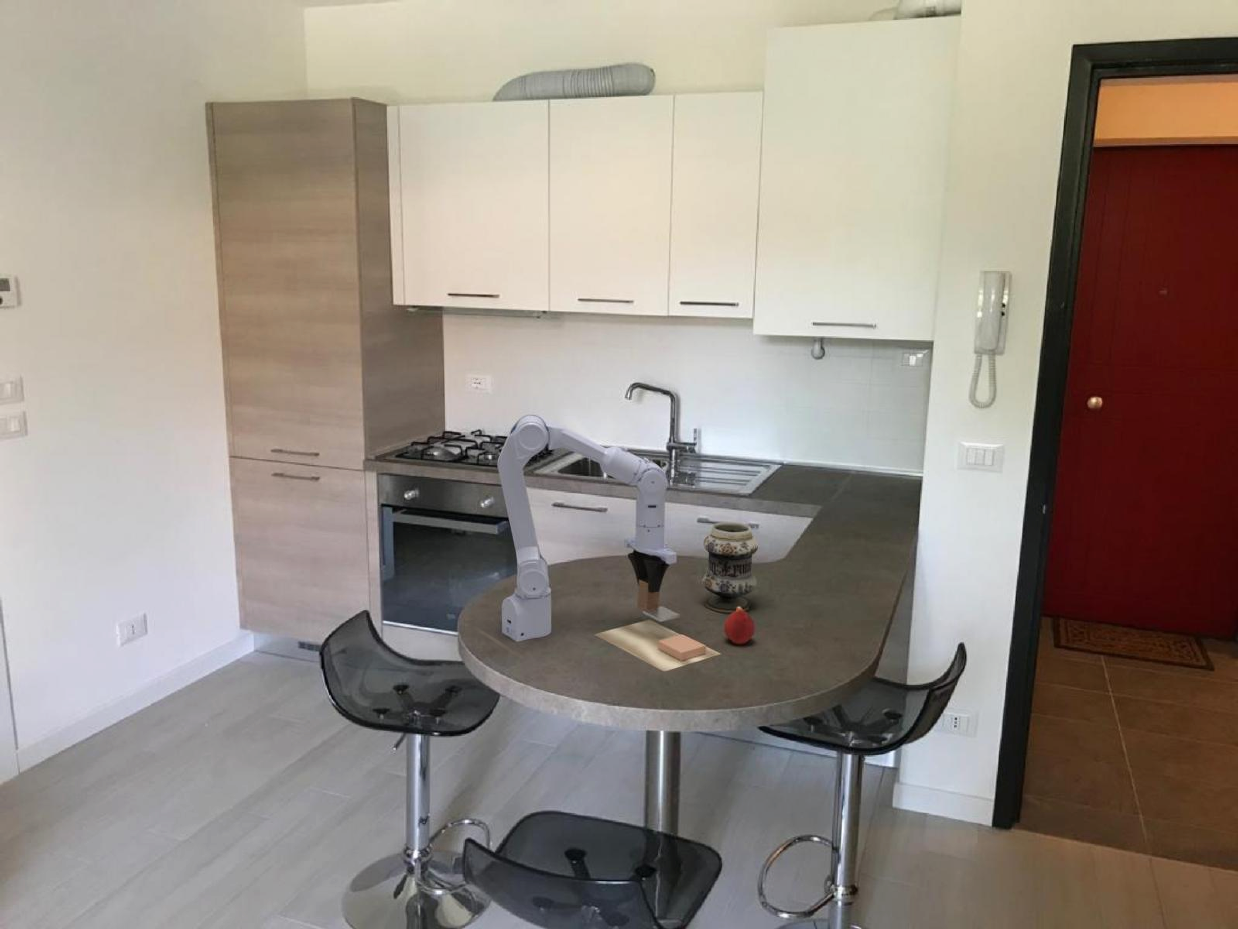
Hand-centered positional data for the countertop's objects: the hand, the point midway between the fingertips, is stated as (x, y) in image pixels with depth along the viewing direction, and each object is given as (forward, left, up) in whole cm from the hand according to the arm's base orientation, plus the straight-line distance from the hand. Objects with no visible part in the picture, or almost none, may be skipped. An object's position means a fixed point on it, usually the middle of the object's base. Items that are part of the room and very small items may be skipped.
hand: (649, 589), depth 189 cm
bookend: (0, -3, -4) cm, 5 cm away
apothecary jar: (+24, +2, -9) cm, 26 cm away
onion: (+10, -16, -9) cm, 21 cm away
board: (-4, -7, -9) cm, 12 cm away
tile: (-3, -10, -7) cm, 13 cm away
